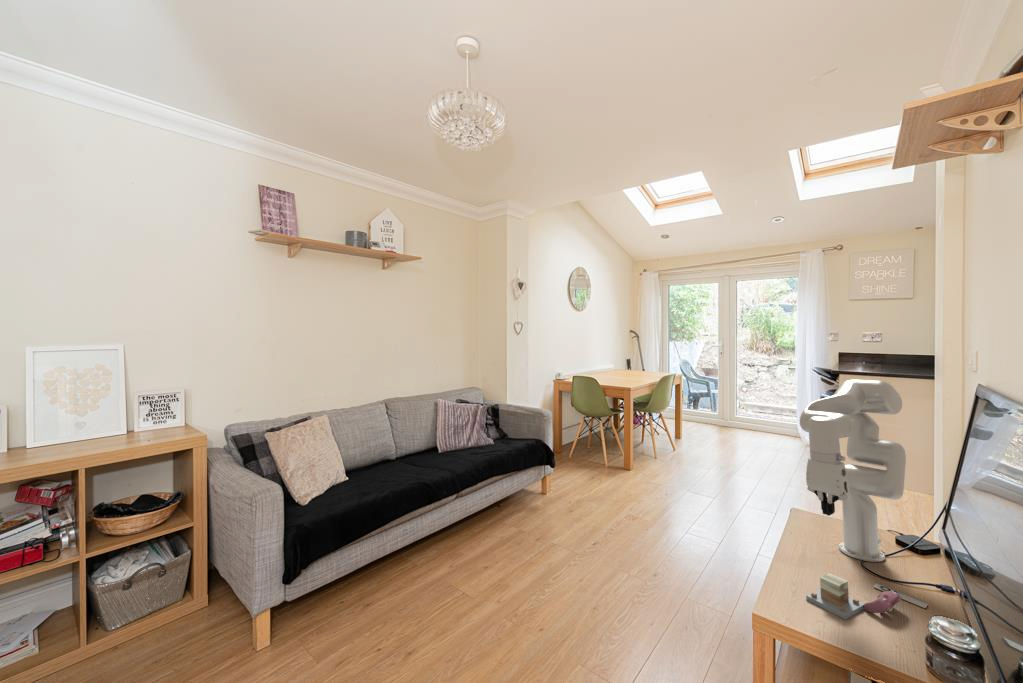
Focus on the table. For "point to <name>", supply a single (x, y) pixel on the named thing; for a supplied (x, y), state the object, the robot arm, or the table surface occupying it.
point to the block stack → (834, 589)
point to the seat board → (842, 611)
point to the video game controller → (883, 602)
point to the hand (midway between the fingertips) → (828, 513)
